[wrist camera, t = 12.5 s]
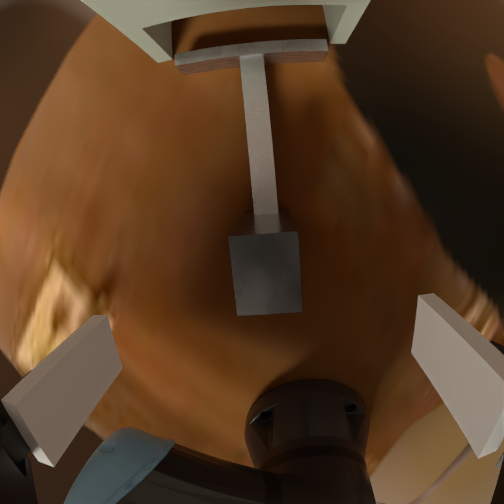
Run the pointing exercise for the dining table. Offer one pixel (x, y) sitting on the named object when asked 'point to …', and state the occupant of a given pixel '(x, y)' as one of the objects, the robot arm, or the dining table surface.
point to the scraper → (260, 179)
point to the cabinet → (197, 3)
